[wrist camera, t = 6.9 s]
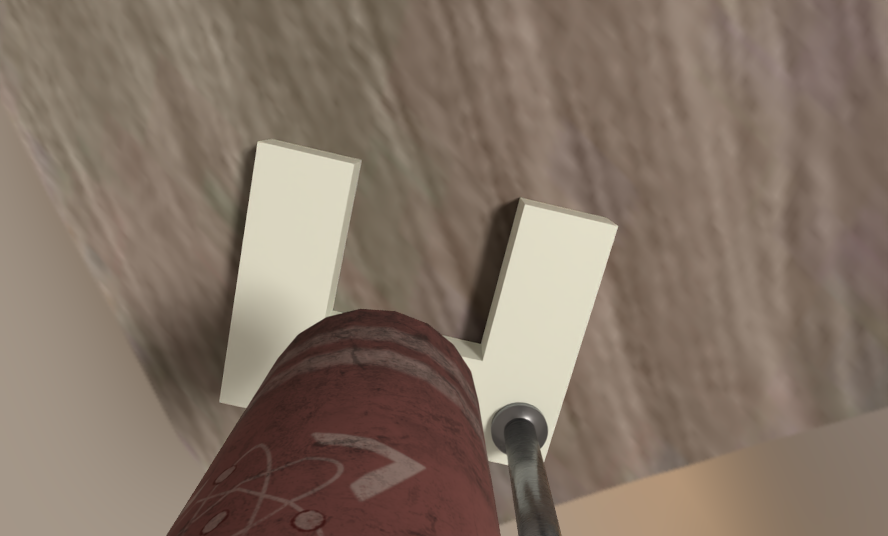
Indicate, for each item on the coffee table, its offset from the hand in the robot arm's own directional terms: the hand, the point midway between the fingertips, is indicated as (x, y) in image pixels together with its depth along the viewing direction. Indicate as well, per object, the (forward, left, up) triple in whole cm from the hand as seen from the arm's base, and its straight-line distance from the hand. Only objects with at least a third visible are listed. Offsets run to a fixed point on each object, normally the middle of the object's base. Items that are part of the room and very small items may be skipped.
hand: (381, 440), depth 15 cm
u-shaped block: (+3, 0, -20) cm, 20 cm away
